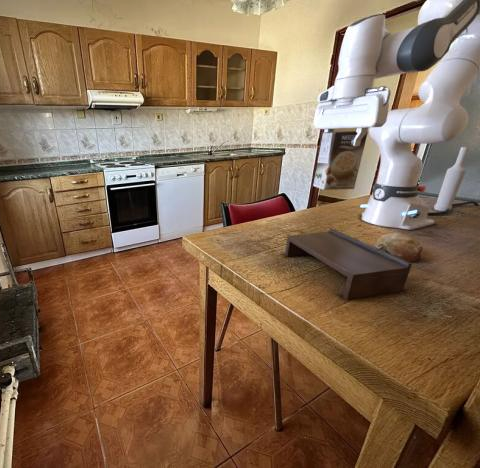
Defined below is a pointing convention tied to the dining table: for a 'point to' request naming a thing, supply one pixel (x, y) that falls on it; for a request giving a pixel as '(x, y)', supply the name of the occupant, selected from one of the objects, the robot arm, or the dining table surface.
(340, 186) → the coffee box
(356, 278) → the shelf
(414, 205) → the robot arm
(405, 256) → the bread roll
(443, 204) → the bottle
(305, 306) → the dining table surface
